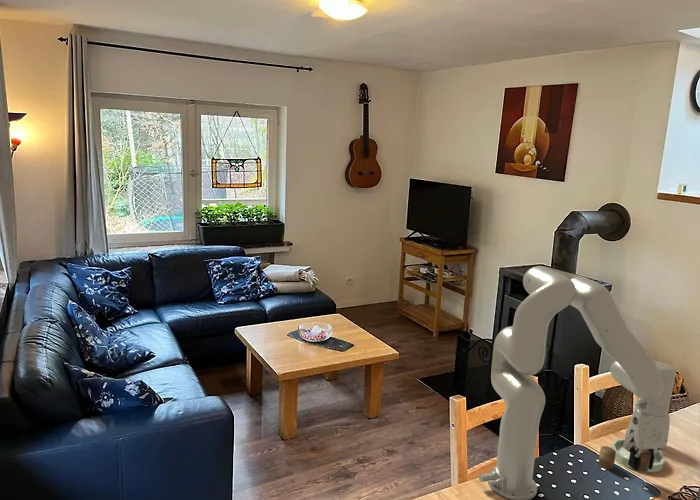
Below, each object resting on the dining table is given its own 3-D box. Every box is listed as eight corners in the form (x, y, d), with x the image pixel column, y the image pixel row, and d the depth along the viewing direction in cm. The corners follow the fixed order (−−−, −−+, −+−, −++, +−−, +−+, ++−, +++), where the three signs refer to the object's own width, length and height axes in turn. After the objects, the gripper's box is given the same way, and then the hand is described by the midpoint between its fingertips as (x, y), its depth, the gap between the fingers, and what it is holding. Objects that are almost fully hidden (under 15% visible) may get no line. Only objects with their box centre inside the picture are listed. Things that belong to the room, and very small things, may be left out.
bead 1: (605, 470, 152) (607, 454, 152) (595, 462, 156) (597, 446, 155) (616, 468, 154) (618, 453, 153) (606, 460, 157) (608, 445, 156)
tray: (635, 475, 151) (638, 456, 149) (600, 448, 164) (603, 430, 163) (674, 469, 154) (678, 450, 153) (637, 443, 168) (640, 426, 166)
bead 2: (639, 472, 145) (642, 456, 144) (628, 464, 149) (631, 448, 148) (651, 471, 146) (654, 455, 146) (640, 462, 150) (643, 446, 149)
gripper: (638, 415, 138) (625, 477, 142) (688, 411, 143) (674, 472, 146) (617, 401, 146) (605, 461, 149) (665, 398, 150) (653, 456, 154)
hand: (640, 466), depth 148 cm, fingers closed on bead 2, 4 cm apart
